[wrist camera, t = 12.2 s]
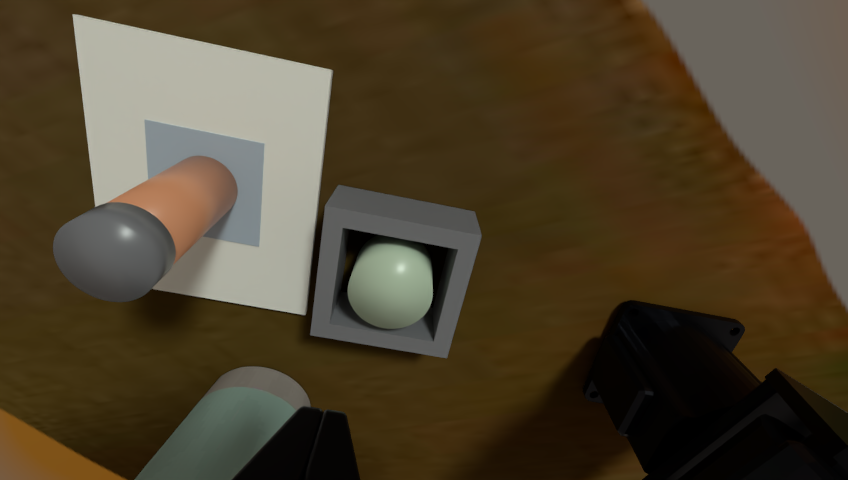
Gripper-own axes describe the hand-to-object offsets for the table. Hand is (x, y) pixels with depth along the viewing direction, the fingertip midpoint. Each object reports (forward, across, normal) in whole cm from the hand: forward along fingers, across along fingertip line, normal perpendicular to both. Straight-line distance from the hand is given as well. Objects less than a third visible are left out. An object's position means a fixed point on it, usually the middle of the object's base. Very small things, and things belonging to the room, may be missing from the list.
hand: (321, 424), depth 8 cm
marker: (+13, +8, +1) cm, 15 cm away
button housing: (+13, -1, +3) cm, 13 cm away
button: (+12, -1, +3) cm, 13 cm away
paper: (+13, +8, +1) cm, 15 cm away
